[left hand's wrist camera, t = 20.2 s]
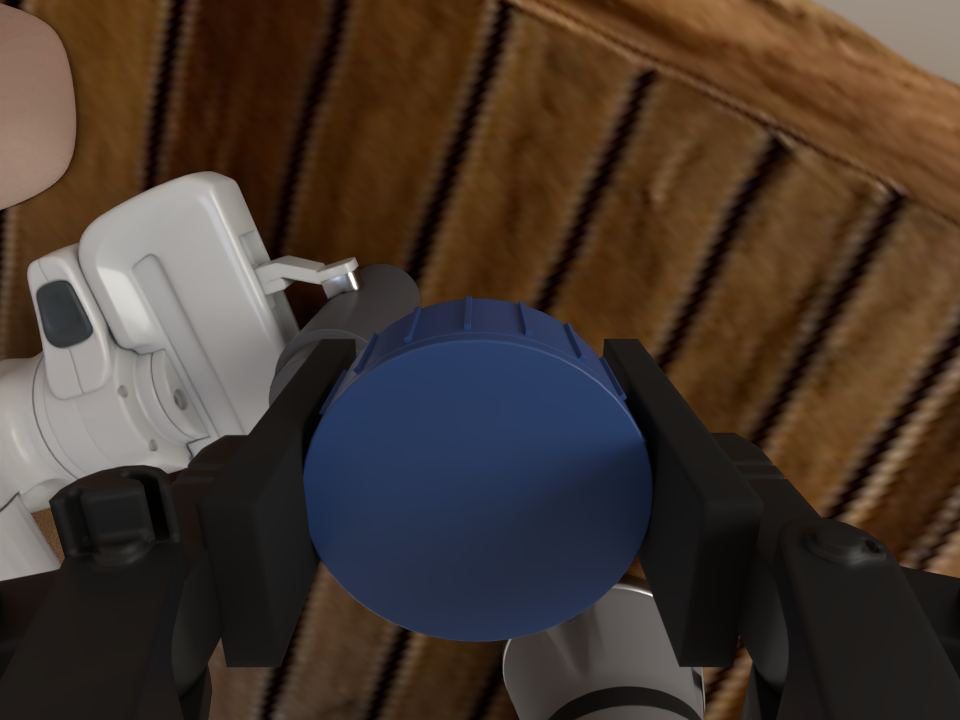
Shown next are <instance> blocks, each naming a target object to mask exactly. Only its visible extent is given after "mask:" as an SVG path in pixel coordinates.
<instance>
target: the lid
mask: <svg viewBox="0 0 960 720" xmlns="http://www.w3.org/2000/svg"><path fill="white" fill-rule="evenodd" d="M626 398H627V397H626V396H625V394H624V392H623V390H622V388H621V387H620V385H619V383H618V381H617V379H616V378H615V376H614V374H613V372H612V371H611V369H610V367H609V365H608V363H607V362H606V360H605V358H604V357H601V358H599V357H598V356H597V355H596V354H595V352H594V351H593V350H592V348H591V347H590V346H589V345H588V344H587V343H586V342H585V341H584V340H583V339H582V338H581V337H580V336H579V335H577V334H576V333H575V332H574V330H573V328H572V326H571V325H570V324H569V323H566V324H565V325H564V324H563V323H561V322H560V321H558V320H556V319H554V318H552V317H550V316H549V315H547V314H545V313H543V312H540V311H538V310H535V309H532V308H530V307H527V306H525V303H524V302H521V301H519V303H518V304H516V303H512V302H508V301H502V300H492V299H472V296H466V299H461V300H455V301H448V302H442V303H439V304H435V305H432V306H428V307H425V308H422V309H421V308H420V307H416V308H414V311H413V313H411V314H408V315H406V316H404V317H403V318H401V319H399V320H398V321H396V322H394V323H393V324H391V325H389V326H388V327H387V328H386V329H384V330H383V331H382V332H381V333H379V334H378V335H377V333H376V332H375V333H373V334H372V335H371V337H370V339H369V341H368V342H367V344H366V346H365V348H364V349H363V350H362V351H361V352H360V354H359V355H358V357H357V358H356V359H355V361H354V362H353V364H352V365H351V367H350V368H349V370H348V371H346V370H343V372H342V374H341V375H340V377H339V379H338V381H337V382H336V384H335V386H334V388H333V389H332V391H331V393H330V394H329V396H328V398H327V400H326V401H325V403H324V405H323V407H322V408H321V410H320V412H319V414H321V415H323V417H322V419H321V421H320V423H319V425H318V427H317V429H316V431H315V433H314V435H313V436H312V438H311V441H310V444H309V447H308V450H307V453H306V456H305V460H304V466H303V482H304V491H305V499H306V508H307V516H308V525H309V532H310V539H311V541H312V543H313V545H314V547H315V549H316V552H317V554H318V556H319V557H320V559H321V560H322V562H323V563H324V565H325V567H326V568H327V570H328V571H329V573H330V574H331V575H332V576H333V577H334V578H335V580H336V581H337V582H338V583H339V584H340V585H341V587H342V588H343V589H344V590H346V591H347V592H348V593H349V594H350V595H351V596H352V597H353V598H354V599H355V600H357V601H358V602H359V603H361V604H362V605H363V606H365V607H366V608H368V609H369V610H371V611H372V612H373V613H375V614H377V615H379V616H381V617H382V618H384V619H386V620H388V621H390V622H392V623H394V624H396V625H399V626H401V627H404V628H406V629H408V630H411V631H414V632H418V633H421V634H424V635H428V636H432V637H437V638H443V639H448V640H457V641H469V642H478V641H498V640H506V639H513V638H518V637H522V636H527V635H531V634H534V633H537V632H540V631H543V630H546V629H549V628H552V627H554V626H556V625H559V624H561V623H563V622H565V621H567V620H569V619H571V618H573V617H575V616H576V615H578V614H579V613H581V612H583V611H584V610H586V609H588V608H589V607H590V606H592V605H593V604H594V603H595V602H597V601H598V600H599V599H601V598H602V597H603V596H604V595H605V594H606V593H607V592H608V591H609V590H610V589H611V588H612V587H613V586H614V585H615V584H616V583H617V582H618V581H619V580H620V578H621V577H622V576H623V575H624V573H625V572H626V571H627V569H628V568H629V567H630V565H631V563H632V562H633V560H634V558H635V557H636V555H637V553H638V551H639V550H640V547H641V545H642V542H643V540H644V537H645V535H646V533H647V529H648V525H649V521H650V517H651V513H652V504H653V493H654V489H653V473H652V468H651V463H650V459H649V454H648V451H647V448H646V447H647V446H648V445H647V441H646V439H645V437H644V436H643V434H642V432H641V430H640V428H639V426H638V425H637V423H636V421H635V419H634V417H633V415H632V413H631V412H630V410H629V408H628V406H627V404H626V402H625V401H624V400H625V399H626Z"/></svg>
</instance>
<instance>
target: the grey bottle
mask: <svg viewBox="0 0 960 720" xmlns="http://www.w3.org/2000/svg"><path fill="white" fill-rule="evenodd" d="M360 272H361V275H362V277H363V280H364V284H363V285H362V287H361V288H359V289H357V290H355V291H352V292H344V291H343V292H342V293H341V294H340V295H338V296H336V297H333V298H331V299H330V300H329V301H328V302H327V303H326V304H325V305H324V306H323V307H322V309H321V310H320V311H319V312H318V313H317V314H316V315H315V316H314V317H313V318H312V319H311V320H310V321H309V322H308V324H307V325H306V326H305V327H304V328H303V329H302V330H301V331H300V332H299V333H298V334H297V335H296V336H295V338H294V339H293V340H292V341H291V342H290V343H289V344H288V345H287V346H286V347H285V349H284V350H283V351H282V353H281V355H280V357H279V359H278V361H277V364H276V368H275V375H274V377H273V380H272V383H271V386H270V391H269V407H270V406H271V405H272V403H273V402H274V401H275V399H276V398H277V397H278V395H279V394H280V393H281V392H282V390H283V389H284V388H285V386H286V385H287V384H288V382H289V381H290V380H291V379H292V377H293V376H294V375H295V373H296V372H297V371H298V369H299V368H300V367H301V366H302V364H303V363H304V362H305V360H306V359H307V358H308V356H309V355H310V354H311V353H312V351H313V350H314V349H315V347H316V346H317V345H318V344H319V342H320V341H321V340H322V339H355V342H356V356H357V357H358V355H359V354H360V352H361V351H362V350H363V349H364V348H365V346H366V344H367V342H368V341H369V339H370V337H371V335H372V334H373V333H375V332H376V333H377V335H378V334H379V333H381V332H382V331H383V330H384V329H386V328H387V327H388V326H389V325H391V324H393V323H394V322H396V321H398V320H399V319H401V318H403V317H404V316H406V315H408V314H411V313H413V311H414V308H416V307H420V308H421V296H420V292H419V289H418V287H417V285H416V283H415V282H414V280H413V279H412V278H411V277H410V276H409V275H408V274H407V273H406V272H404V271H403V270H402V269H400V268H398V267H395V266H393V265H389V264H371V265H368V266H365V267H363V268H361V269H360Z"/></svg>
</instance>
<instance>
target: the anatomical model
mask: <svg viewBox="0 0 960 720" xmlns="http://www.w3.org/2000/svg"><path fill="white" fill-rule="evenodd" d="M75 138H76V107H75V95H74V88H73V81H72V75H71V70H70V66H69V61H68V58H67V54H66V51H65V49H64V46H63V44H62V42H61V40H60V38H59V37H58V35H57V34H56V32H55V31H54V30H53V29H52V28H51V27H50V26H49V25H48V24H46V23H45V22H44V21H42V20H40V19H39V18H37V17H35V16H33V15H31V14H28V13H26V12H24V11H22V10H19V9H16V8H13V7H10V6H7V5H4V4H1V3H0V210H2V209H4V208H7V207H10V206H12V205H15V204H17V203H20V202H22V201H25V200H27V199H29V198H31V197H33V196H35V195H37V194H39V193H41V192H42V191H44V190H46V189H48V188H49V187H50V186H52V185H53V184H54V183H56V182H57V181H58V180H59V179H60V178H61V177H62V175H63V174H64V173H65V171H66V170H67V168H68V166H69V164H70V161H71V159H72V155H73V151H74V146H75Z"/></svg>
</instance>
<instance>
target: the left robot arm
mask: <svg viewBox="0 0 960 720" xmlns="http://www.w3.org/2000/svg"><path fill="white" fill-rule="evenodd" d="M603 357H604V358H605V360H606V362H607V363H608V365H609V367H610V369H611V371H612V372H613V374H614V376H615V378H616V379H617V381H618V383H619V385H620V387H621V388H622V390H623V392H624V394H625V396H626V397H627V398H626V399H625V400H624V401H625V402H626V404H627V406H628V408H629V410H630V412H631V413H632V415H633V417H634V419H635V421H636V423H637V425H638V426H639V428H640V430H641V432H642V434H643V436H644V437H645V439H646V441H647V445H648V446H647V447H646V448H647V451H648V454H649V459H650V463H651V468H652V473H653V489H654V493H653V504H652V513H651V517H650V521H649V525H648V529H647V533H646V535H645V537H644V540H643V542H642V545H641V547H640V550H639V551H638V553H637V555H638V558H639V560H640V563H641V566H642V568H643V571H644V574H645V576H646V579H647V581H646V580H643V579H640V578H637V577H634V576H629V575H623V576H622V577H621V578H620V580H619V581H618V582H617V583H616V584H615V585H614V586H613V587H612V588H611V589H610V590H609V591H608V592H607V593H606V594H605V595H604V596H603V597H602V598H601V599H599V600H598V601H597V602H595V603H594V604H593V605H592V606H590V607H589V608H588V609H586V610H584V611H583V612H581V613H579V614H578V615H576V616H575V617H573V618H571V619H569V620H567V621H565V622H563V623H561V624H559V625H556V626H554V627H552V628H549V629H546V630H543V631H540V632H537V633H534V634H531V635H527V636H522V637H518V638H513V639H506V640H503V647H502V659H503V676H504V681H505V685H506V688H507V691H508V694H509V696H510V699H511V701H512V703H513V704H514V707H515V709H516V712H517V714H518V717H519V719H520V720H703V695H704V683H703V671H702V667H733V663H734V658H735V652H736V647H737V642H738V637H739V635H740V637H741V639H742V641H743V643H744V645H745V647H746V649H747V651H748V653H749V655H750V657H751V659H752V661H753V662H752V667H751V672H750V677H749V682H748V687H747V692H746V696H745V701H744V706H743V711H742V716H741V720H751V719H752V720H960V578H956V577H951V576H946V575H941V574H936V573H931V572H926V571H921V570H916V569H911V568H907V567H903V566H900V565H899V563H898V562H897V560H896V558H895V556H894V555H893V554H892V553H891V552H890V550H889V549H888V548H887V547H886V546H885V544H883V543H882V542H881V541H879V540H878V539H876V538H875V537H873V536H872V535H870V534H869V533H867V532H865V531H863V530H861V529H858V528H856V527H854V526H851V525H849V524H847V523H843V522H839V521H835V520H831V519H827V518H821V517H820V515H819V514H818V513H817V512H816V511H815V510H814V509H813V508H812V506H811V505H810V504H809V503H808V502H807V501H806V500H805V499H804V497H803V496H802V495H801V494H800V493H799V492H798V491H797V490H796V489H795V487H794V486H793V485H792V484H791V483H790V482H789V481H788V480H787V479H784V475H783V474H782V473H781V472H780V471H779V469H778V468H777V467H776V466H773V465H772V462H771V460H770V459H769V458H768V457H767V456H766V455H765V454H764V453H763V451H762V450H761V449H760V448H759V447H758V446H756V445H755V444H753V443H751V442H749V441H748V440H746V439H744V438H743V437H741V436H739V435H737V434H736V433H710V432H709V431H708V430H707V428H706V427H705V426H704V425H703V423H702V422H701V421H700V419H699V418H698V417H697V415H696V414H695V413H694V412H693V410H692V409H691V408H690V406H689V405H688V404H687V402H686V401H685V400H684V399H683V397H682V396H681V395H680V393H679V392H678V391H677V389H676V388H675V387H674V386H673V384H672V383H671V382H670V380H669V379H668V378H667V376H666V375H665V374H664V373H663V371H662V370H661V369H660V367H659V366H658V365H657V363H656V362H655V361H654V360H653V358H652V357H651V356H650V354H649V353H648V352H647V351H646V349H645V348H644V347H643V345H642V344H641V343H640V341H639V340H638V339H604V351H603ZM356 358H357V356H356V342H355V339H322V340H321V341H320V342H319V344H318V345H317V346H316V347H315V349H314V350H313V351H312V353H311V354H310V355H309V356H308V358H307V359H306V360H305V362H304V363H303V364H302V366H301V367H300V368H299V369H298V371H297V372H296V373H295V375H294V376H293V377H292V379H291V380H290V381H289V382H288V384H287V385H286V386H285V388H284V389H283V390H282V392H281V393H280V394H279V395H278V397H277V398H276V399H275V401H274V402H273V403H272V405H271V406H270V407H269V408H268V410H267V411H266V412H265V414H264V415H263V416H262V418H261V419H260V420H259V421H258V423H257V424H256V425H255V427H254V428H253V429H252V431H251V432H250V433H249V434H248V435H224V436H223V437H221V438H219V439H217V440H216V441H214V442H212V443H211V444H209V445H207V446H206V447H204V448H202V449H201V450H200V451H199V452H198V454H197V455H196V456H195V457H194V458H193V459H192V460H191V461H190V463H189V464H188V467H187V468H184V469H183V471H182V472H181V473H180V474H179V475H178V476H177V477H176V481H175V482H172V483H170V478H169V474H167V473H166V472H165V471H163V470H162V469H161V468H158V467H153V466H147V465H130V466H120V467H115V468H111V469H106V470H101V471H98V472H96V473H93V474H90V475H87V476H85V477H82V478H79V479H77V480H76V481H74V482H72V483H70V484H69V485H67V486H65V487H64V488H62V489H60V490H59V491H58V492H57V493H56V494H55V495H54V496H53V497H52V498H51V499H50V500H49V504H50V508H51V511H52V514H53V518H54V521H55V525H56V528H57V532H58V535H59V539H60V542H61V545H62V549H63V552H64V556H65V559H64V561H63V563H62V565H61V566H60V568H59V569H57V570H53V571H48V572H43V573H38V574H33V575H28V576H23V577H18V578H13V579H8V580H3V581H0V720H208V717H209V710H210V703H211V695H212V685H211V677H210V672H209V667H208V661H209V659H210V657H211V655H212V653H213V651H214V649H215V647H216V646H217V644H218V642H219V640H220V638H221V639H222V644H223V649H224V654H225V660H226V665H227V667H280V666H281V664H282V661H283V658H284V656H285V653H286V650H287V648H288V645H289V642H290V640H291V637H292V634H293V632H294V629H295V626H296V624H297V621H298V618H299V615H300V613H301V610H302V607H303V605H304V602H305V599H306V597H307V594H308V591H309V589H310V586H311V583H312V581H313V578H314V575H315V573H316V570H317V567H318V565H319V562H320V557H319V556H318V554H317V552H316V549H315V547H314V545H313V543H312V541H311V539H310V532H309V525H308V516H307V508H306V499H305V491H304V482H303V466H304V460H305V456H306V453H307V450H308V447H309V444H310V441H311V438H312V436H313V435H314V433H315V431H316V429H317V427H318V425H319V423H320V421H321V419H322V417H323V415H321V414H319V412H320V410H321V408H322V407H323V405H324V403H325V401H326V400H327V398H328V396H329V394H330V393H331V391H332V389H333V388H334V386H335V384H336V382H337V381H338V379H339V377H340V375H341V374H342V372H343V370H346V371H348V370H349V368H350V367H351V365H352V364H353V362H354V361H355V359H356ZM702 684H703V690H702ZM704 707H705V695H704Z"/></svg>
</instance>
